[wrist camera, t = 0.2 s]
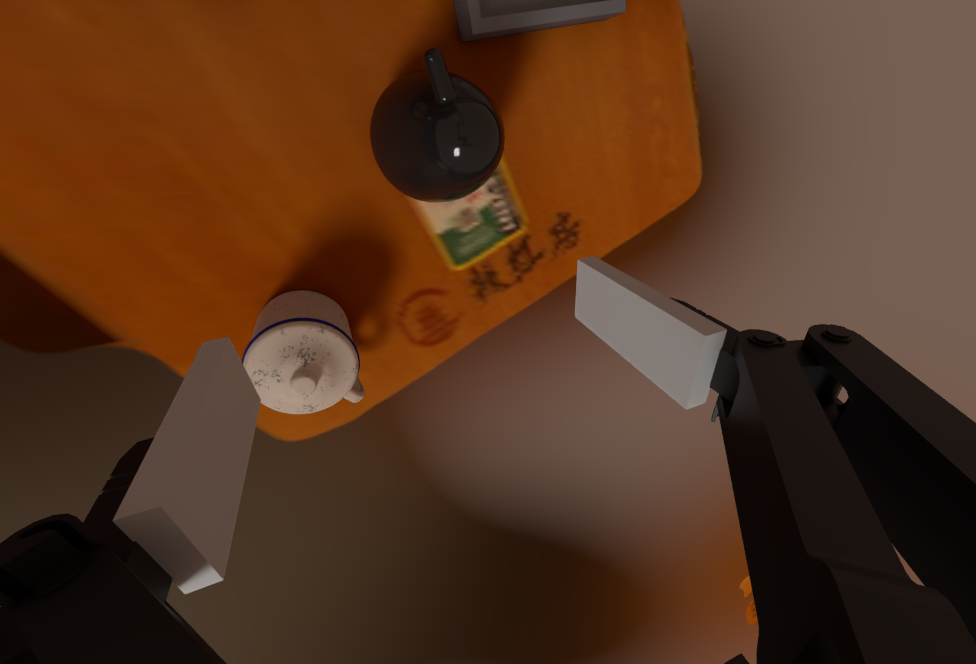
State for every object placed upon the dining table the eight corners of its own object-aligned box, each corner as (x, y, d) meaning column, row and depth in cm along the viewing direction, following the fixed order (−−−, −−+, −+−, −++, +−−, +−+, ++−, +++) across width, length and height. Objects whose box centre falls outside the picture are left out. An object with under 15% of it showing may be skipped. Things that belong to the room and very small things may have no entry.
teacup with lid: (231, 329, 37) (204, 392, 28) (303, 268, 38) (302, 309, 28) (325, 397, 44) (330, 467, 34) (386, 344, 44) (408, 399, 35)
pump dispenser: (436, 54, 35) (509, 1, 22) (485, 164, 41) (566, 172, 28) (339, 110, 34) (357, 88, 21) (403, 216, 39) (449, 248, 27)
